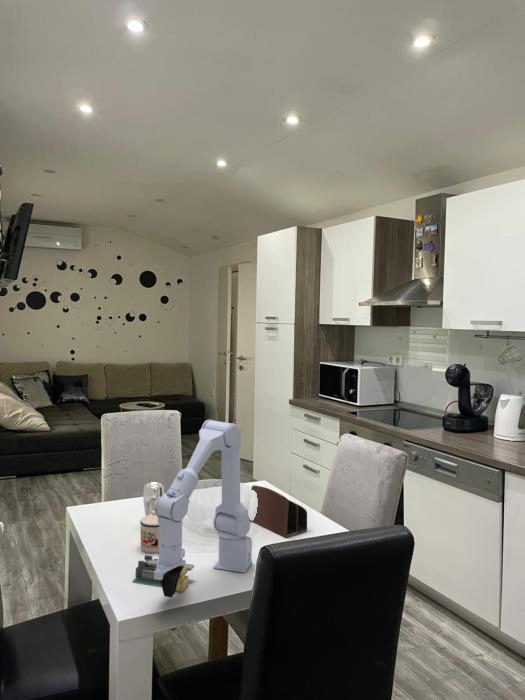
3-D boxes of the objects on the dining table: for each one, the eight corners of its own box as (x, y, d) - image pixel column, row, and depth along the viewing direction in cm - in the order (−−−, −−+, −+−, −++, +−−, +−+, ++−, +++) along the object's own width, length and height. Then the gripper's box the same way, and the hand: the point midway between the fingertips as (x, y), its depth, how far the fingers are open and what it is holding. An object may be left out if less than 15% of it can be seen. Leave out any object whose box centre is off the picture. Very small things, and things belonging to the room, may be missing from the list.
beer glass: (165, 525, 193) (166, 482, 192) (160, 532, 186) (161, 488, 185) (146, 523, 194) (147, 481, 193) (140, 531, 187) (140, 487, 186)
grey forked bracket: (152, 571, 158) (152, 555, 158) (144, 578, 153) (144, 562, 153) (143, 569, 158) (143, 554, 158) (135, 576, 154) (135, 561, 154)
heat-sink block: (187, 570, 158) (187, 560, 158) (171, 588, 148) (171, 577, 148) (150, 565, 161) (150, 555, 161) (132, 582, 151) (132, 571, 151)
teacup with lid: (133, 550, 172) (134, 513, 171) (151, 539, 180) (152, 504, 179) (165, 558, 167) (166, 519, 166) (182, 547, 175) (183, 510, 174)
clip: (188, 584, 150) (189, 567, 150) (182, 592, 146) (182, 574, 146) (178, 582, 151) (178, 565, 151) (171, 590, 147) (171, 573, 146)
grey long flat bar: (194, 567, 153) (194, 564, 153) (190, 571, 151) (190, 567, 151) (145, 561, 157) (145, 558, 157) (141, 565, 155) (141, 561, 154)
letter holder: (285, 539, 184) (286, 497, 183) (249, 521, 199) (250, 482, 199) (307, 532, 190) (308, 491, 190) (270, 515, 206) (271, 478, 205)
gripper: (173, 556, 133) (172, 611, 134) (195, 534, 147) (194, 584, 148) (146, 552, 135) (145, 607, 135) (171, 531, 149) (170, 580, 149)
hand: (169, 595), depth 142 cm, fingers closed
